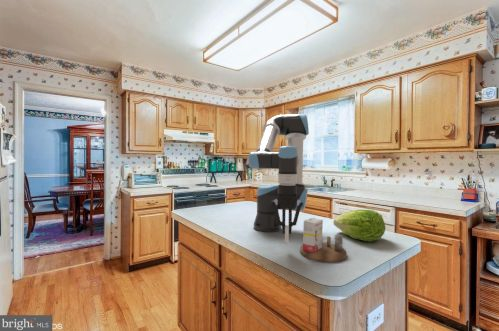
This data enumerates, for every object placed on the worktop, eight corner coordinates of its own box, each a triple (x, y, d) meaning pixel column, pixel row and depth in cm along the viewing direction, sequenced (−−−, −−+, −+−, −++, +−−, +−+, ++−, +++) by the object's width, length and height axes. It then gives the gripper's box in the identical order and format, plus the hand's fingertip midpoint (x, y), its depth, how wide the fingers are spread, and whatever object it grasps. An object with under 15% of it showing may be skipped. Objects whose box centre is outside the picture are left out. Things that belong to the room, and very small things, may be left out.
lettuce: (346, 229, 138) (341, 204, 138) (393, 236, 118) (387, 206, 118) (327, 240, 128) (322, 213, 128) (375, 249, 108) (369, 216, 108)
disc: (302, 261, 94) (302, 241, 94) (298, 244, 112) (298, 227, 112) (352, 264, 92) (352, 243, 92) (340, 246, 110) (341, 229, 110)
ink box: (313, 253, 98) (314, 223, 97) (302, 250, 101) (302, 221, 100) (322, 247, 104) (323, 219, 104) (311, 244, 108) (312, 217, 107)
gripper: (271, 184, 100) (270, 244, 100) (304, 185, 98) (303, 245, 99) (271, 183, 107) (270, 238, 108) (302, 183, 106) (302, 239, 106)
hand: (286, 241), depth 103 cm, fingers closed
